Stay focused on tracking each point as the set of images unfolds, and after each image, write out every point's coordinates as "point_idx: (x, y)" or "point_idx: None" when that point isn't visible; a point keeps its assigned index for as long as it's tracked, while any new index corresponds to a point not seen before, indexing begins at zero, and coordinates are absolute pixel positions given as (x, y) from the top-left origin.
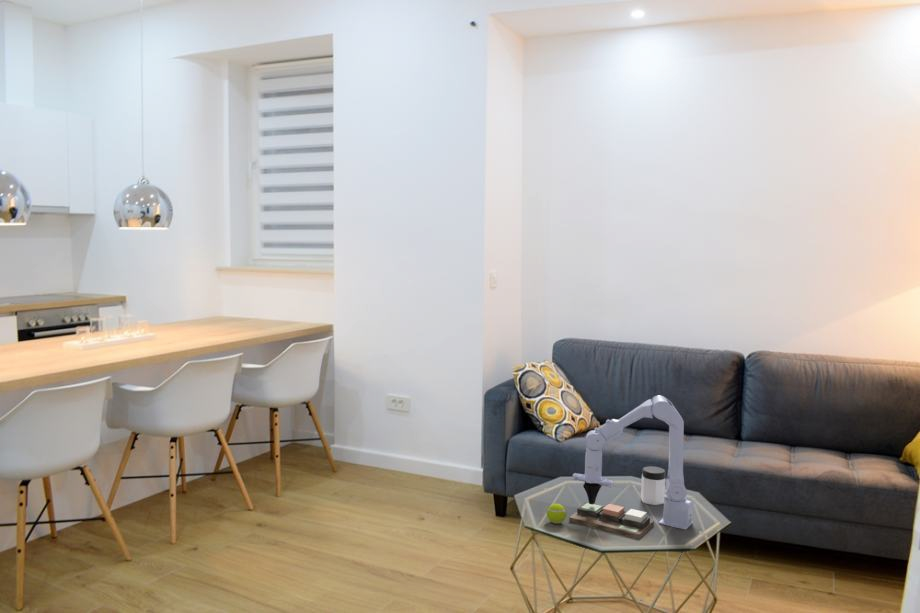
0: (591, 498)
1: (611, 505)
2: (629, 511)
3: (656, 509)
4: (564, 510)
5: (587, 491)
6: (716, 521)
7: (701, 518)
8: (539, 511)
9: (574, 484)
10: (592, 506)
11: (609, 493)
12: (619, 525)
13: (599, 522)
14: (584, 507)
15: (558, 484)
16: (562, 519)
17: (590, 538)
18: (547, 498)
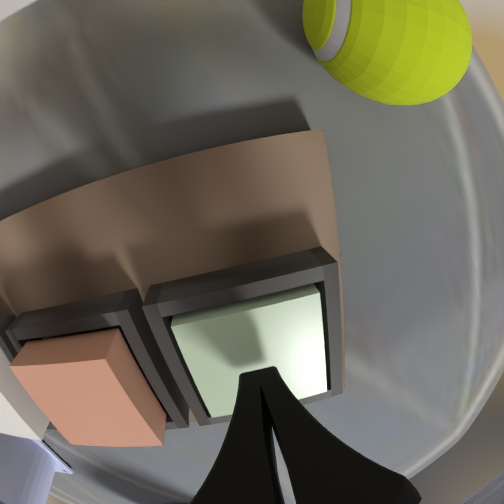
0: (254, 411)
1: (126, 433)
2: (7, 407)
3: (136, 492)
4: (343, 9)
5: (321, 456)
6: None
7: None
8: (488, 157)
9: (436, 442)
10: None
11: None
12: (1, 288)
13: (82, 228)
14: (294, 313)
15: (473, 409)
16: (303, 2)
17: (40, 33)
18: (496, 313)
